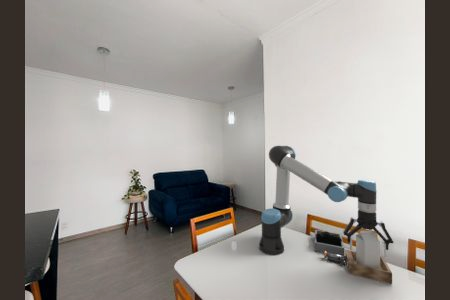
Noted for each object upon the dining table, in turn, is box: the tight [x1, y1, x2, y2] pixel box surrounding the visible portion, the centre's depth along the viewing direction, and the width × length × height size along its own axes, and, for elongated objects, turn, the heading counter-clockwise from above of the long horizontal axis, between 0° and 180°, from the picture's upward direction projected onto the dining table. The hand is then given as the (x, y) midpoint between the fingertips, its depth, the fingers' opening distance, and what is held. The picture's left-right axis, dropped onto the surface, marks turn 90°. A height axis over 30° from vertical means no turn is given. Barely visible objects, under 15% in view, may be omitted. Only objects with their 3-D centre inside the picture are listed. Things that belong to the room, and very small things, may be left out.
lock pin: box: [323, 251, 346, 262], centre depth 103 cm, size 10×4×4 cm, turn 63°
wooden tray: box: [344, 248, 393, 285], centre depth 95 cm, size 16×15×5 cm
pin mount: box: [327, 253, 346, 266], centre depth 103 cm, size 8×6×4 cm
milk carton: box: [355, 230, 381, 269], centre depth 95 cm, size 7×7×19 cm
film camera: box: [314, 231, 343, 247], centre depth 120 cm, size 15×10×9 cm, turn 70°
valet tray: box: [314, 229, 345, 256], centre depth 120 cm, size 16×20×5 cm
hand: (366, 252), depth 95 cm, fingers open, 13 cm apart
